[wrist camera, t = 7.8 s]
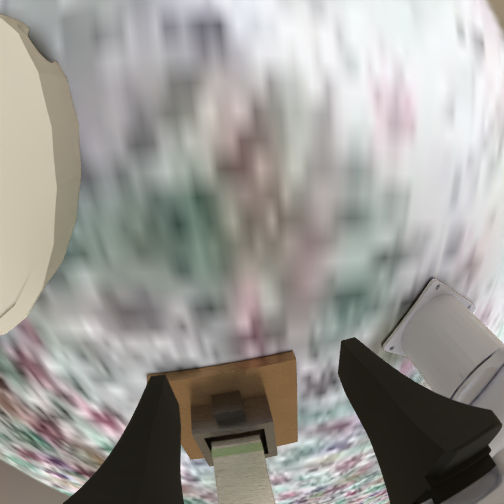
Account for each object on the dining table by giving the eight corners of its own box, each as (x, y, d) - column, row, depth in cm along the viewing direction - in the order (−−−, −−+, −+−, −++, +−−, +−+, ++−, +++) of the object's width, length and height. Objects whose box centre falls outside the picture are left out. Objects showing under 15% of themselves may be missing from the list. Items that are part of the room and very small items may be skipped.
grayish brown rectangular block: (210, 441, 22) (221, 529, 15) (259, 433, 22) (280, 520, 15) (219, 461, 24) (231, 538, 17) (263, 454, 24) (282, 530, 17)
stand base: (147, 374, 23) (144, 412, 20) (292, 350, 24) (306, 386, 21) (190, 452, 29) (192, 481, 26) (295, 434, 31) (304, 463, 27)
